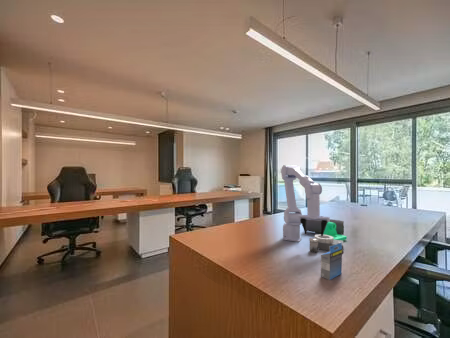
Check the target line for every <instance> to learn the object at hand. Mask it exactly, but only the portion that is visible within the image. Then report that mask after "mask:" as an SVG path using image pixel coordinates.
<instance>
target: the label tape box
mask: <svg viewBox="0 0 450 338" xmlns="http://www.w3.org/2000/svg"><path fill="white" fill-rule="evenodd" d="M336 247H338V249H336V250H334V248H336ZM329 248H330V251H327V252H324V253H322V254H321V255H320V277H322V278H324V279H326V280H328V281H331V280H333V279H334V278H336V277H338V276H340V275H342V273H343V272H342V266H343V265H342V264H343V253H342V243H339V244H336V245H333V246H329Z"/></svg>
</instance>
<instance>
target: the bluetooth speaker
mask: <svg viewBox="0 0 450 338" xmlns="http://www.w3.org/2000/svg"><path fill="white" fill-rule="evenodd" d="M309 219H310V218H309ZM329 222H333V223H335V224H336V232H337V234H340V235H344V234H345V227H344V226H345V225H344V220H339V219H331V218H330V221H329ZM327 223H328V222H327ZM326 225H327V224H326ZM306 228H307V232H312V233H314V234H315V235H318V234H321V221H318V220H307V223H306ZM325 228H326V226H325ZM325 228H324V231H325ZM323 234H324V232H323ZM344 236H345V235H344Z"/></svg>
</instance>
